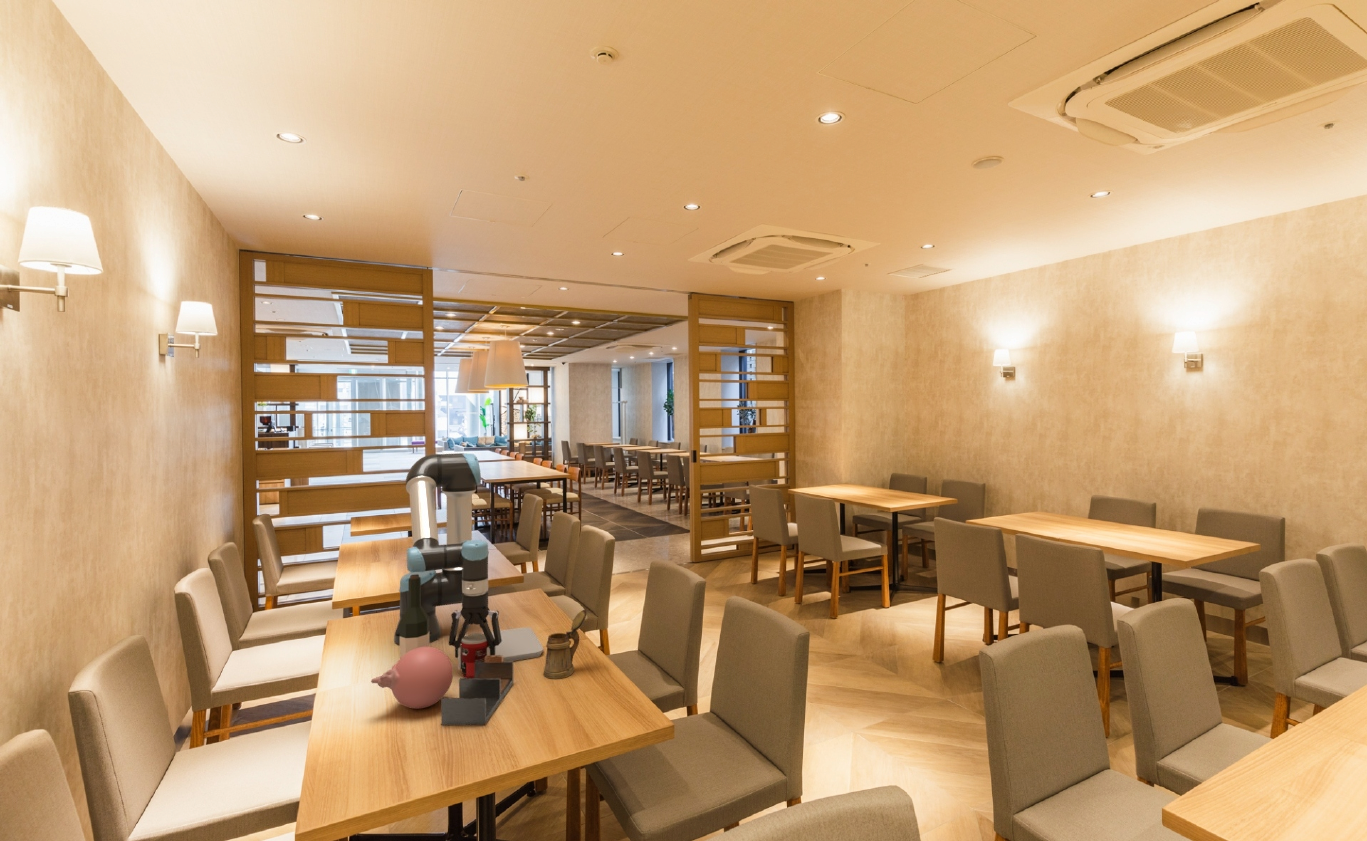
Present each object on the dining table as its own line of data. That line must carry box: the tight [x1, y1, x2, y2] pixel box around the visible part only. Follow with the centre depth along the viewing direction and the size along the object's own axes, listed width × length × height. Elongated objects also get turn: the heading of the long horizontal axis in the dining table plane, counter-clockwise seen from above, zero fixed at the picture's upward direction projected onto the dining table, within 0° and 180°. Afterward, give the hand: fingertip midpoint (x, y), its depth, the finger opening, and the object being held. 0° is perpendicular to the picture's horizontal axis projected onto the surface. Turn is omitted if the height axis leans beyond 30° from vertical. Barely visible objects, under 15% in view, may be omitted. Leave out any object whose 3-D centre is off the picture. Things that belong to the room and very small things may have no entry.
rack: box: [440, 655, 514, 726], centre depth 166 cm, size 25×11×8 cm, turn 179°
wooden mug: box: [542, 608, 588, 680], centre depth 187 cm, size 9×14×18 cm, turn 118°
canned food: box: [461, 633, 489, 678], centre depth 185 cm, size 8×8×11 cm
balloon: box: [370, 646, 454, 709], centre depth 163 cm, size 15×20×15 cm
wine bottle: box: [399, 574, 430, 659], centre depth 184 cm, size 8×8×30 cm
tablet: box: [491, 626, 544, 662], centre depth 207 cm, size 16×26×2 cm, turn 24°
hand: (475, 667), depth 185 cm, fingers closed on canned food, 8 cm apart
